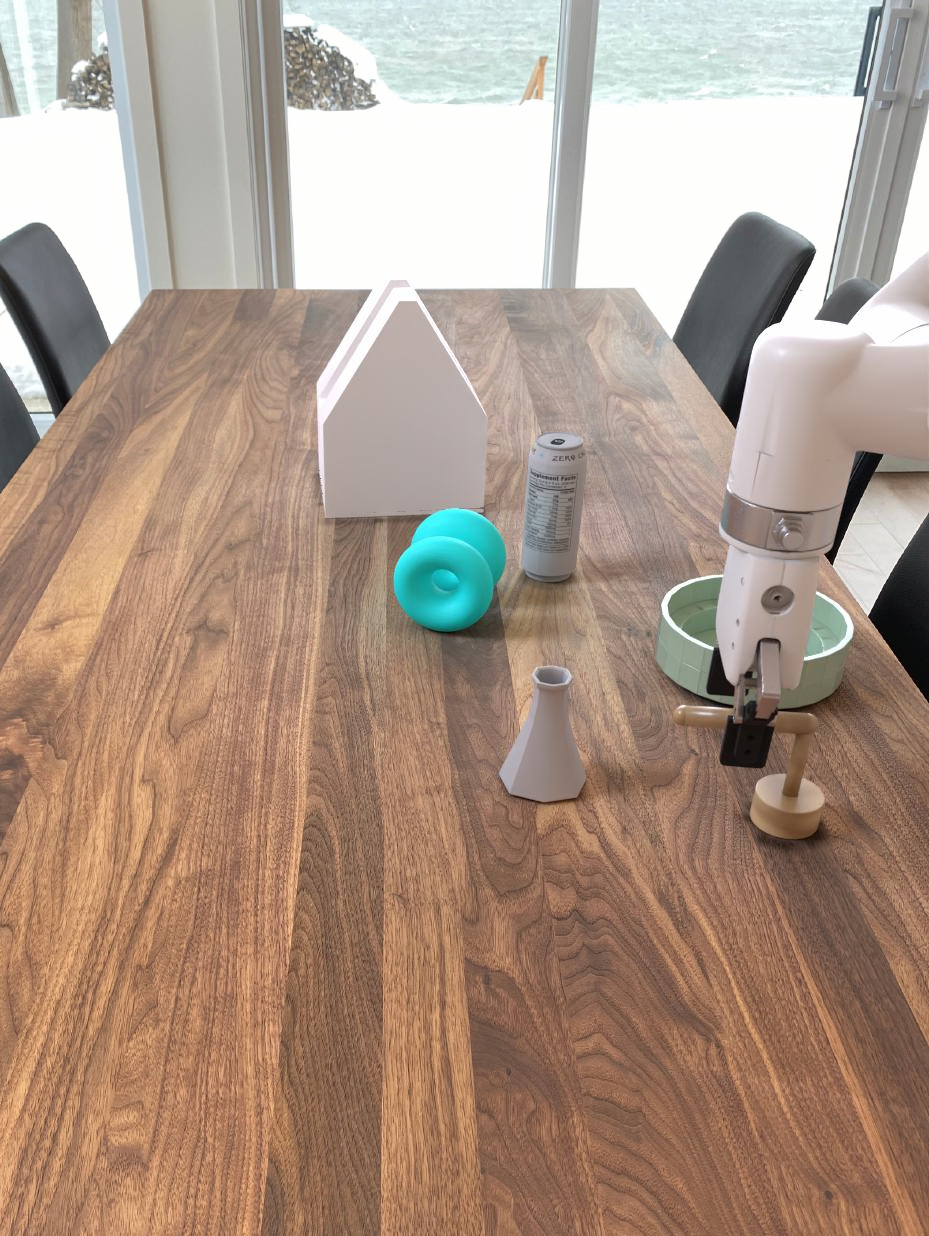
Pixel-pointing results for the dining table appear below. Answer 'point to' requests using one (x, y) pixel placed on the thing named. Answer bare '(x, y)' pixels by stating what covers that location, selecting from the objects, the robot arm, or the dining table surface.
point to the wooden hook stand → (777, 798)
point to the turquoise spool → (450, 570)
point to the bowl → (693, 638)
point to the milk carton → (398, 415)
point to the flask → (546, 744)
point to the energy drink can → (553, 506)
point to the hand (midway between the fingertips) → (733, 728)
